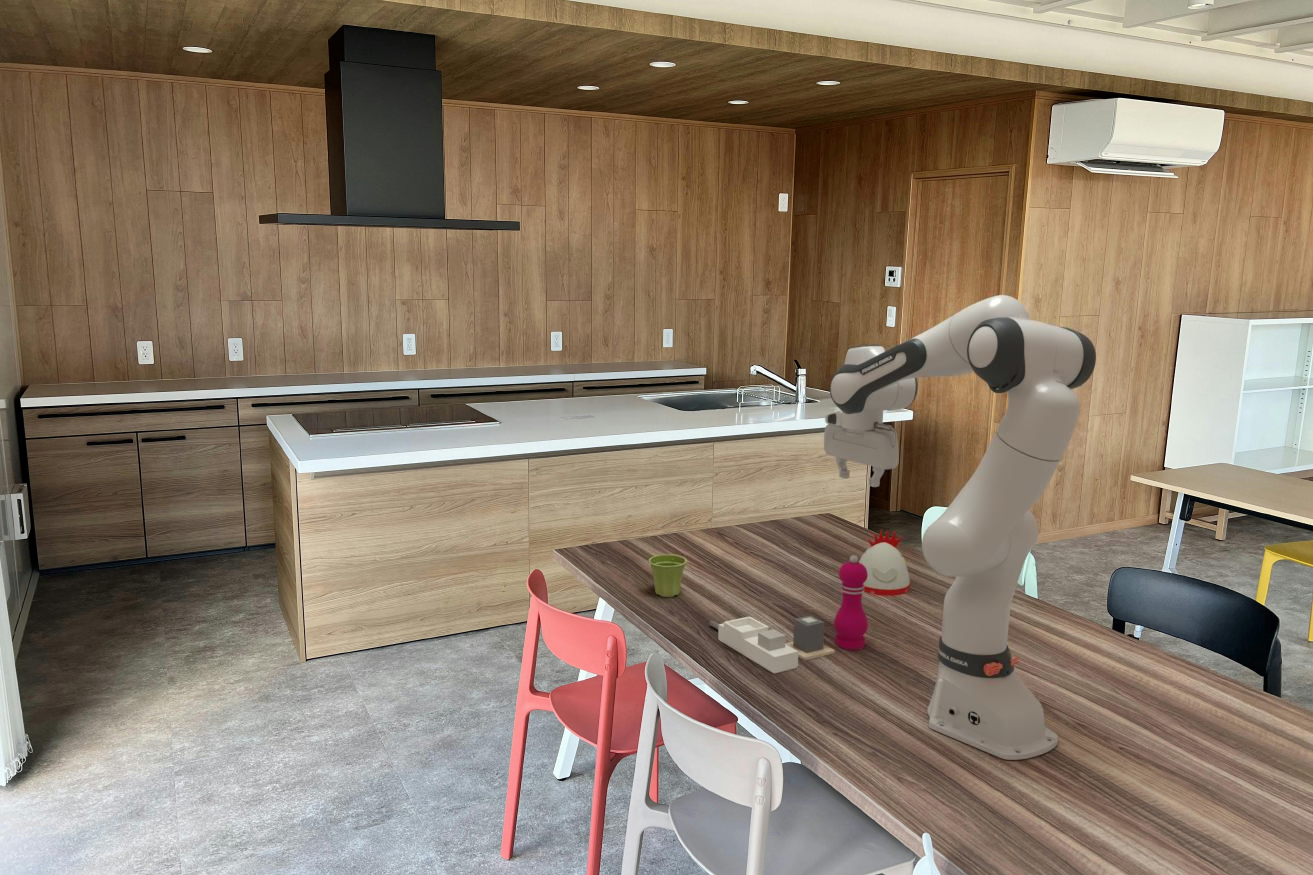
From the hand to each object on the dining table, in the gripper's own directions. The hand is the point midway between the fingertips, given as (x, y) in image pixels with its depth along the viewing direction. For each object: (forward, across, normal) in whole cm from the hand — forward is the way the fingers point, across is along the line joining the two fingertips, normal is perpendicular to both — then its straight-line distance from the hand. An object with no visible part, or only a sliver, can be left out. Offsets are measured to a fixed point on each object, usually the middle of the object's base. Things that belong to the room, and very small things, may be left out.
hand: (858, 482), depth 201 cm
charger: (+34, -4, +16) cm, 37 cm away
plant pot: (+34, +41, +24) cm, 59 cm away
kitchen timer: (+34, +19, -27) cm, 48 cm away
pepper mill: (+34, -6, +6) cm, 35 cm away
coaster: (+34, -4, +16) cm, 38 cm away
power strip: (+34, +4, +26) cm, 43 cm away
